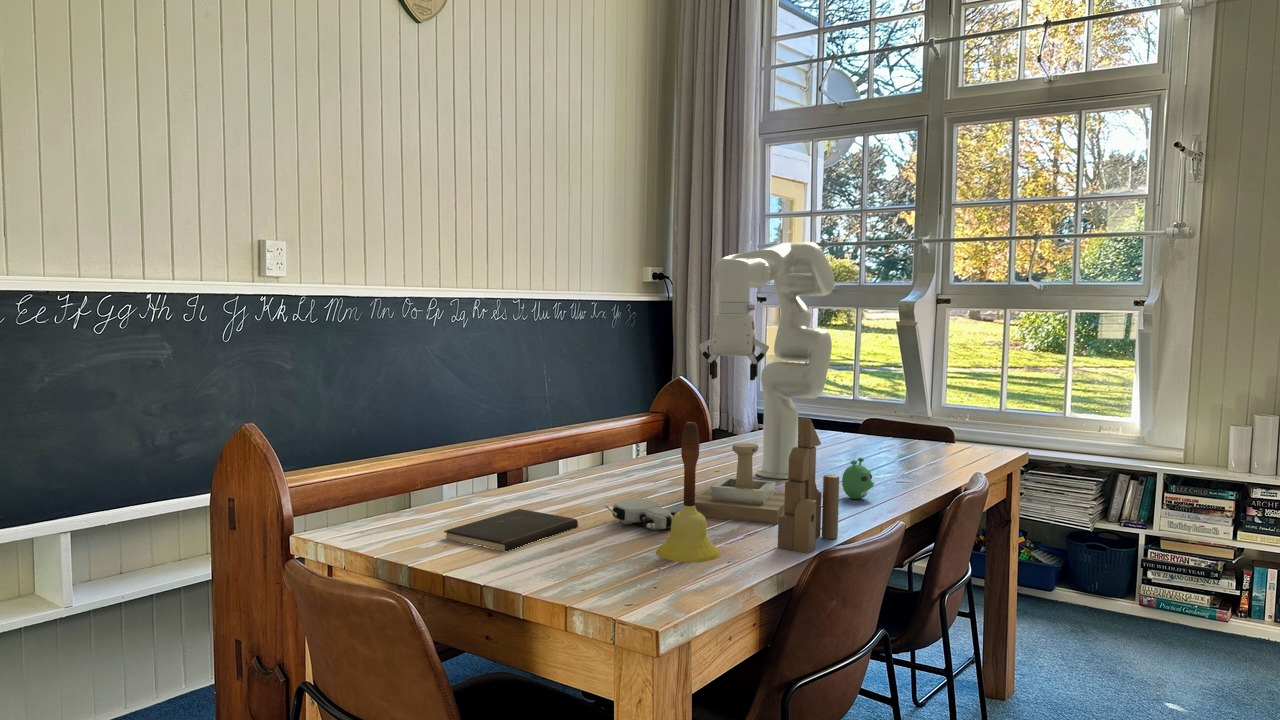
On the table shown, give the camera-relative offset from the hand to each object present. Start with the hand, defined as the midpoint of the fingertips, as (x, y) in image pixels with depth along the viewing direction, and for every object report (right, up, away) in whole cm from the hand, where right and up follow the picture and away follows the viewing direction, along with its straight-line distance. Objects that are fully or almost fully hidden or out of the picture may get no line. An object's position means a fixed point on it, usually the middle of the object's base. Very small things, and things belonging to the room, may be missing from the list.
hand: (733, 379), depth 217 cm
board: (+1, -30, -13) cm, 33 cm away
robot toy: (-22, -31, -28) cm, 47 cm away
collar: (+1, -27, -13) cm, 30 cm away
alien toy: (+31, -30, +1) cm, 43 cm away
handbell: (-14, -32, -49) cm, 60 cm away
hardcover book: (-49, -31, -36) cm, 69 cm away
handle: (+1, -30, -12) cm, 33 cm away
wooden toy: (+11, -32, -40) cm, 53 cm away
